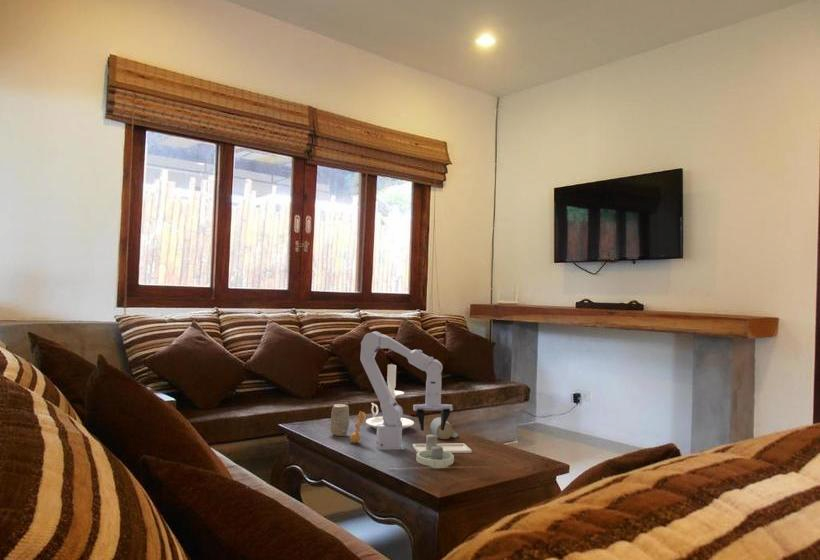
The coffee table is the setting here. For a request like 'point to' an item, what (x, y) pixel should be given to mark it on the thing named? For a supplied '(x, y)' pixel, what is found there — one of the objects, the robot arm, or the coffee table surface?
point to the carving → (339, 419)
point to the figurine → (358, 427)
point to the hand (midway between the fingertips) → (432, 429)
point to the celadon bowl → (425, 459)
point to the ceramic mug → (440, 433)
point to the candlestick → (391, 386)
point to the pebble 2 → (437, 453)
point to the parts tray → (446, 447)
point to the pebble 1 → (431, 441)
